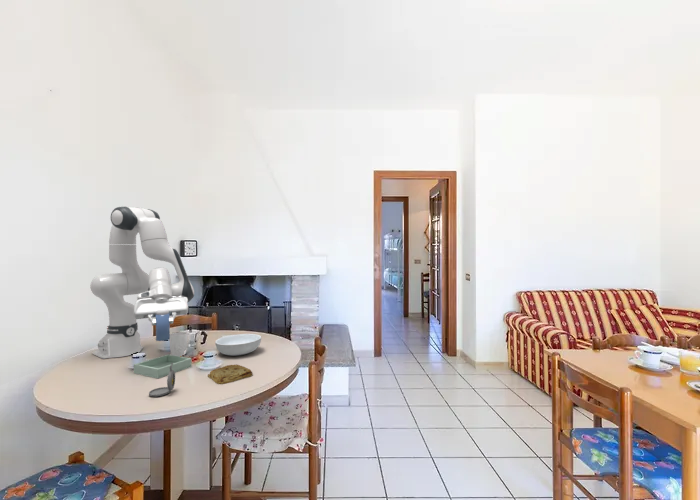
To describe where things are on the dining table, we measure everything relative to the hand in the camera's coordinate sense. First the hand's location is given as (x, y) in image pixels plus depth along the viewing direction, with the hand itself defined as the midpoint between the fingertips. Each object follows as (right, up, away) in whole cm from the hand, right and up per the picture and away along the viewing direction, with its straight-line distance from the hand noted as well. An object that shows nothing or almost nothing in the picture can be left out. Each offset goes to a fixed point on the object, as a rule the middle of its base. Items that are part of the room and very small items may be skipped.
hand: (162, 323), depth 142 cm
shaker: (0, -7, 0) cm, 7 cm away
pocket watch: (+13, -19, -24) cm, 33 cm away
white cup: (-4, -20, +21) cm, 29 cm away
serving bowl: (+24, -19, +23) cm, 38 cm away
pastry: (+30, -19, -8) cm, 37 cm away
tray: (0, -19, 0) cm, 19 cm away
